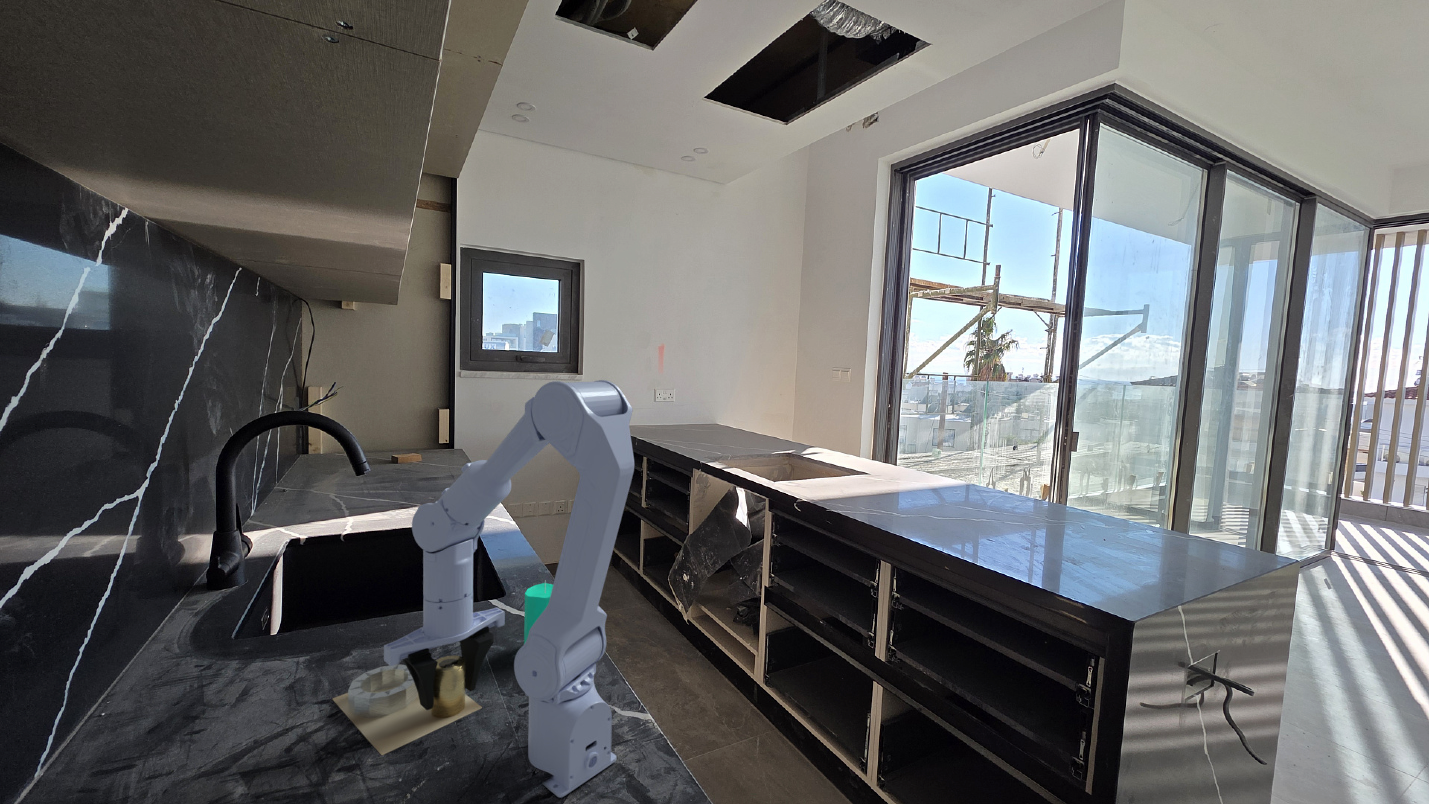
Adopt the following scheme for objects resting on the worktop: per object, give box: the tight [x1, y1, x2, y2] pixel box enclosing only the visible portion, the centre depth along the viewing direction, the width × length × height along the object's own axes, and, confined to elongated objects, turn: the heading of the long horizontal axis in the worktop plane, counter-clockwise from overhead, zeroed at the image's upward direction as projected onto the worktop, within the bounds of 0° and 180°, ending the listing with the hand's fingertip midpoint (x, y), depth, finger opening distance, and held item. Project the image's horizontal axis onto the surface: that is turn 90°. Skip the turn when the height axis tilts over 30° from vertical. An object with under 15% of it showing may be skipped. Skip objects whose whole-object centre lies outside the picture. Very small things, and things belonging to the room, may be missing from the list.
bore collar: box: [347, 663, 418, 718], centre depth 74 cm, size 8×8×2 cm
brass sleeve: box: [431, 655, 466, 718], centre depth 73 cm, size 4×4×6 cm
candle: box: [523, 580, 553, 645], centre depth 88 cm, size 6×6×12 cm
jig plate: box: [332, 687, 483, 756], centre depth 74 cm, size 16×12×1 cm
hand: (448, 696), depth 73 cm, fingers open, 5 cm apart
